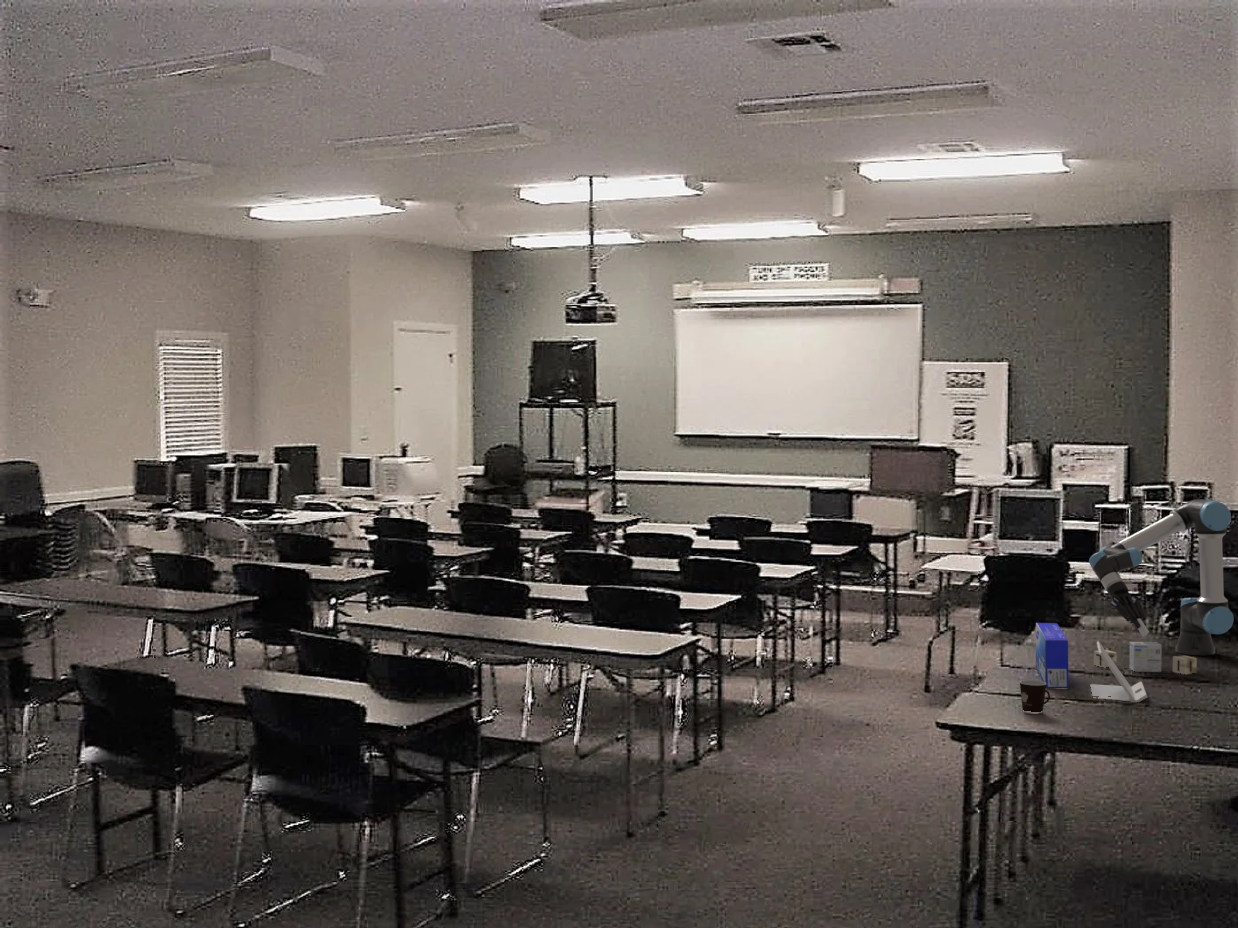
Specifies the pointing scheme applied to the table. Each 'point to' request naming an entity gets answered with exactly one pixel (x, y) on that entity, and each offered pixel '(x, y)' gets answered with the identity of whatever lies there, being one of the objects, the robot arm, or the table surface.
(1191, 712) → the table surface
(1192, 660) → the birch block one
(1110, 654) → the birch block seven
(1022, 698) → the coffee mug
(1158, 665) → the light bulb box
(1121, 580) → the robot arm
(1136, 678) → the table surface
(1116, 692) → the tablet stand
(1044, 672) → the toner cartridge box
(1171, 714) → the table surface
